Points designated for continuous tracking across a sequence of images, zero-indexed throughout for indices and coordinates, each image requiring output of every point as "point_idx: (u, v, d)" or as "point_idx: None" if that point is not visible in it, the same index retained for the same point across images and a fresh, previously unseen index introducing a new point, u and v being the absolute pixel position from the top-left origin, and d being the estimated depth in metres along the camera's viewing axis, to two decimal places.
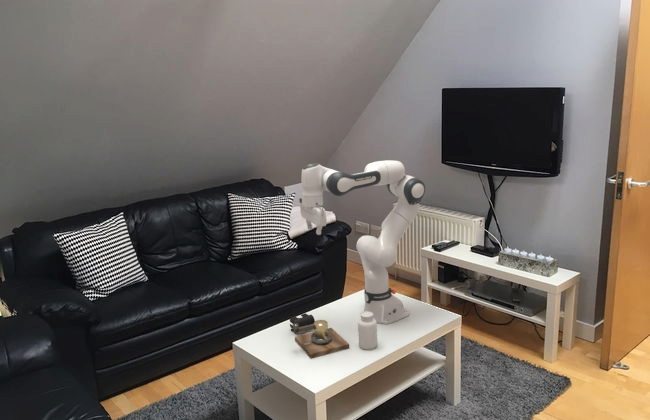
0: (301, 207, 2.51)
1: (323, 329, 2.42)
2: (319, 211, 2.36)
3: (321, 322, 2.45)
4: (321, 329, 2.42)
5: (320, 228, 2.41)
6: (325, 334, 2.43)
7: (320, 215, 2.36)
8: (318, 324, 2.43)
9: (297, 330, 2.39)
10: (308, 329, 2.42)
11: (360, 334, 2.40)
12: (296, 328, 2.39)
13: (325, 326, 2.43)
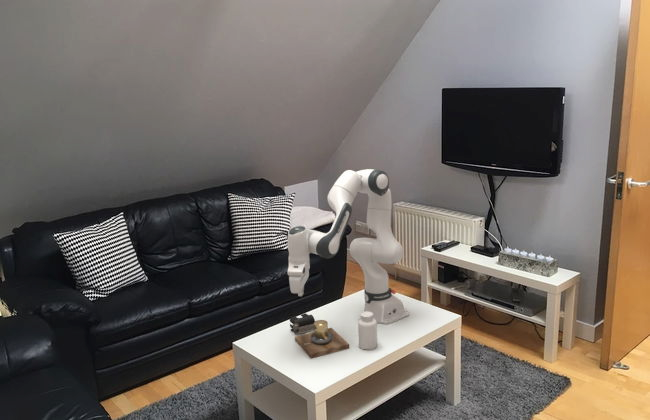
0: None
1: (323, 329, 2.42)
2: None
3: (321, 322, 2.45)
4: (321, 329, 2.42)
5: None
6: (325, 334, 2.43)
7: None
8: (318, 324, 2.43)
9: (297, 330, 2.39)
10: (308, 329, 2.42)
11: (360, 334, 2.40)
12: (296, 328, 2.39)
13: (325, 326, 2.43)
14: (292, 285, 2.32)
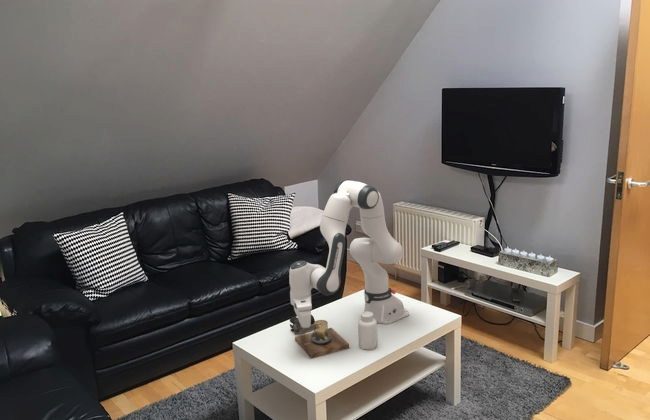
0: None
1: (324, 329, 2.42)
2: None
3: (321, 322, 2.45)
4: (321, 329, 2.42)
5: None
6: (325, 334, 2.43)
7: None
8: (319, 324, 2.43)
9: (297, 330, 2.39)
10: (308, 329, 2.41)
11: (360, 334, 2.40)
12: (296, 328, 2.38)
13: (325, 326, 2.43)
14: (303, 321, 2.32)
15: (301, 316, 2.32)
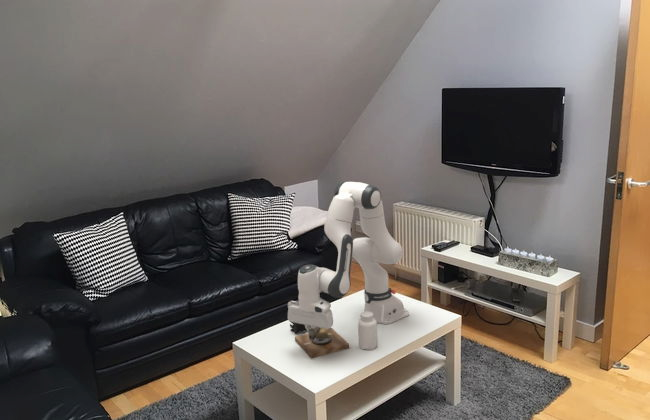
0: None
1: None
2: None
3: None
4: None
5: None
6: (327, 332, 2.45)
7: None
8: None
9: (314, 335, 2.34)
10: (317, 332, 2.39)
11: (360, 334, 2.40)
12: (314, 333, 2.33)
13: None
14: (329, 321, 2.31)
15: (328, 317, 2.30)
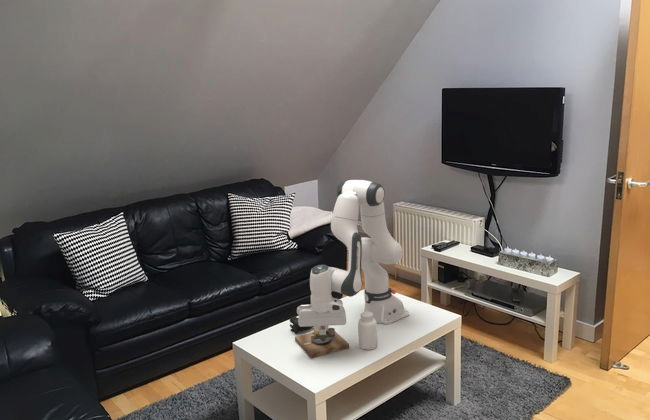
0: None
1: None
2: None
3: None
4: None
5: None
6: None
7: None
8: None
9: None
10: None
11: (360, 334, 2.40)
12: None
13: None
14: (345, 316, 2.34)
15: (344, 312, 2.33)
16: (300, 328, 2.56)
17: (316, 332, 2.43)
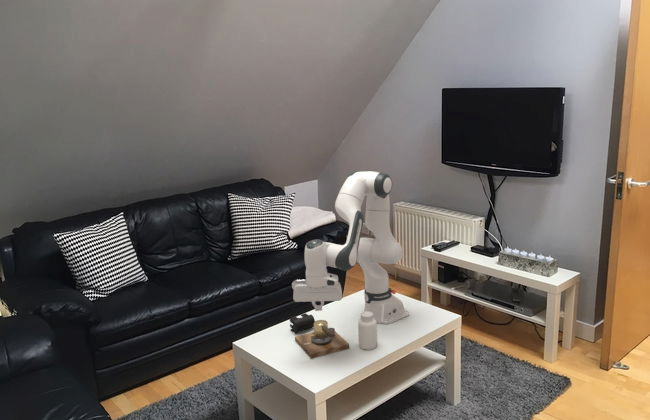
0: None
1: None
2: None
3: (320, 322, 2.45)
4: (327, 325, 2.45)
5: None
6: None
7: None
8: (324, 323, 2.44)
9: None
10: None
11: (360, 334, 2.40)
12: None
13: None
14: (341, 292, 2.31)
15: (340, 288, 2.30)
16: (300, 328, 2.56)
17: (316, 332, 2.43)
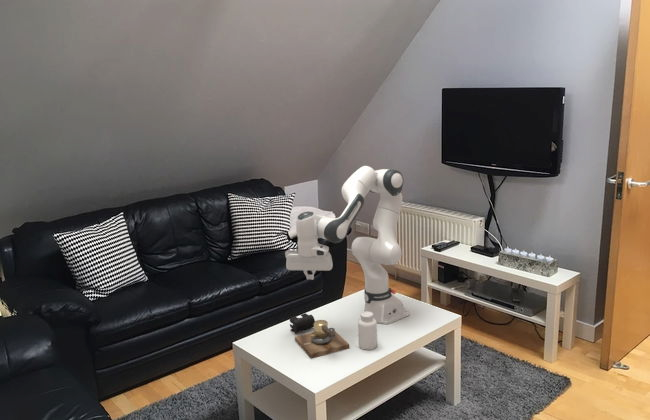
0: None
1: None
2: None
3: (320, 322, 2.45)
4: (327, 325, 2.45)
5: None
6: None
7: None
8: (324, 323, 2.44)
9: None
10: None
11: (360, 334, 2.40)
12: None
13: None
14: (330, 262, 2.42)
15: (329, 258, 2.41)
16: (300, 328, 2.56)
17: (316, 332, 2.43)
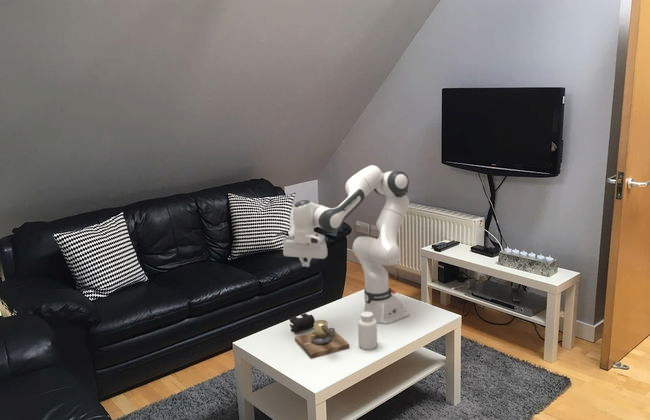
0: None
1: None
2: None
3: (320, 322, 2.45)
4: (327, 325, 2.45)
5: None
6: None
7: None
8: (324, 323, 2.44)
9: None
10: None
11: (360, 334, 2.40)
12: None
13: None
14: (325, 251, 2.48)
15: (323, 247, 2.47)
16: (300, 328, 2.56)
17: (316, 332, 2.43)
